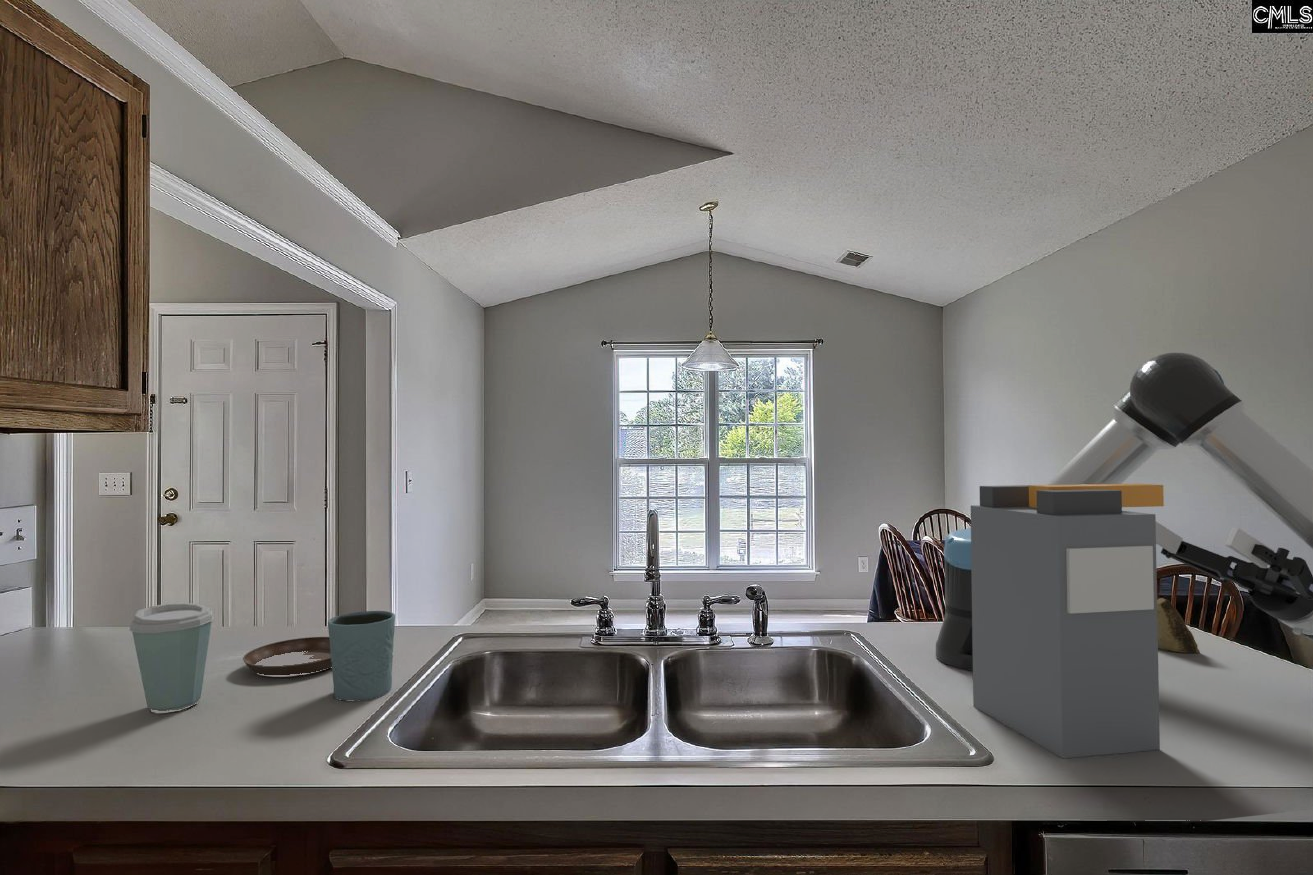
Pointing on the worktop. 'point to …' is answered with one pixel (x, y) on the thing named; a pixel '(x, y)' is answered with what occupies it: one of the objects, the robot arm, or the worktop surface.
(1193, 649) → the rock
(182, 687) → the disposable coffee cup
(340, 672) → the teal embossed cup
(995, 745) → the worktop surface
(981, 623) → the breaker panel
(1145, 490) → the handle
